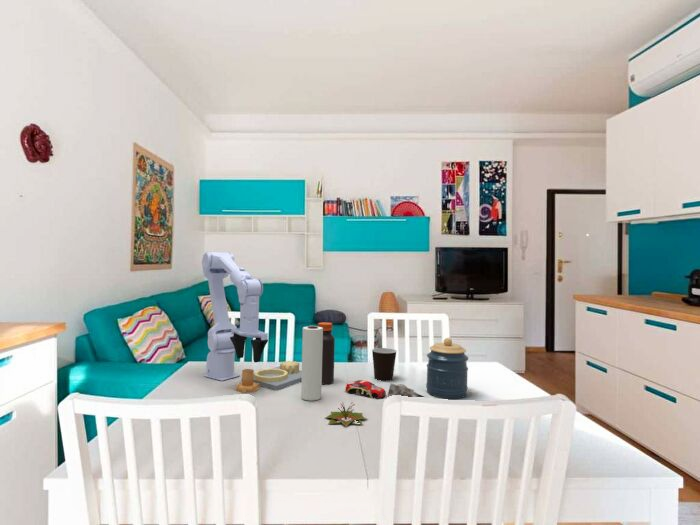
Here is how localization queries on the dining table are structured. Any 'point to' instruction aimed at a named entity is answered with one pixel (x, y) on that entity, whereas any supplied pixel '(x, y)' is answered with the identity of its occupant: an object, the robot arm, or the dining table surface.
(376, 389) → the race car
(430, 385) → the canister
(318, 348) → the paper towel roll
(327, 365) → the bottle
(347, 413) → the lily flower
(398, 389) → the camouflage cap
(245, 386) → the planet gear
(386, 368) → the coffee mug
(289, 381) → the carrier plate
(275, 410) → the dining table surface
